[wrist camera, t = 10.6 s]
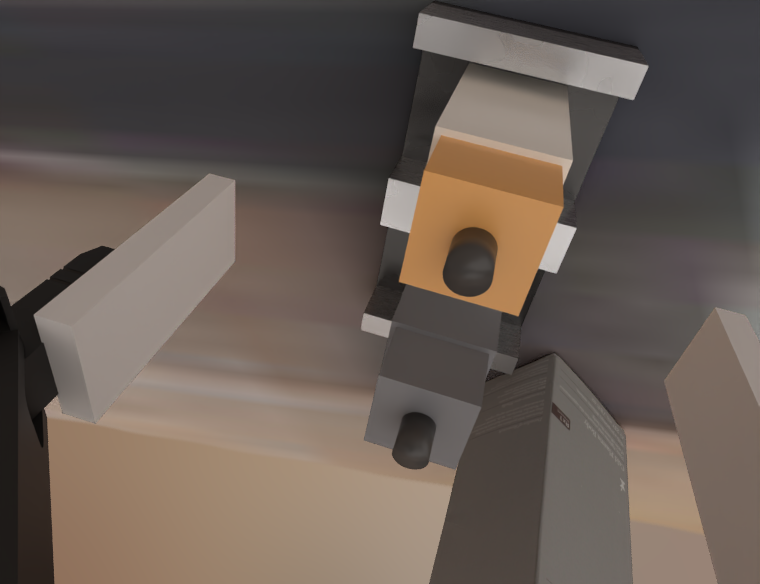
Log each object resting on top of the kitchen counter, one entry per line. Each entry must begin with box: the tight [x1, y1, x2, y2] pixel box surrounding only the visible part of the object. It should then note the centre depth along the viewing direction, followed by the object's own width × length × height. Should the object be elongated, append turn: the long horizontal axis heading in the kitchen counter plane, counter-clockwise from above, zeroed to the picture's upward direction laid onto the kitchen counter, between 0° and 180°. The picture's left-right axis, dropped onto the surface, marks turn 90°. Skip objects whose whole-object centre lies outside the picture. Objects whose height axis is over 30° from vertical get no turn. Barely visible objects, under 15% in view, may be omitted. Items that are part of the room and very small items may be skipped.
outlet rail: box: [361, 1, 648, 375], centre depth 27 cm, size 9×17×4 cm, turn 170°
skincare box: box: [429, 353, 633, 584], centre depth 30 cm, size 8×7×16 cm
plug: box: [399, 63, 573, 316], centre depth 20 cm, size 4×4×14 cm
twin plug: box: [364, 284, 502, 470], centre depth 26 cm, size 4×4×14 cm
